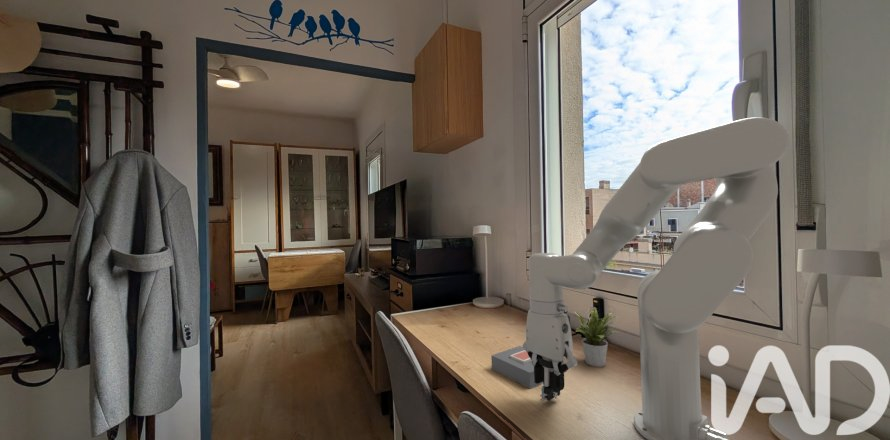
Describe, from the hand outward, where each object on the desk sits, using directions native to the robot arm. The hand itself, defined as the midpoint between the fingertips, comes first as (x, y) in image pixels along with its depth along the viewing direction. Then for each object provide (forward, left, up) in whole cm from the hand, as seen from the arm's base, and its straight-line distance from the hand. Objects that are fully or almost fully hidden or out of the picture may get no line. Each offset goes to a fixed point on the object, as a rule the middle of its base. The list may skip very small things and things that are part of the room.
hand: (549, 385), depth 73 cm
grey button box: (+14, -8, -4) cm, 17 cm away
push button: (0, 0, -3) cm, 3 cm away
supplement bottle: (+23, -38, -4) cm, 45 cm away
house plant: (+4, -29, -4) cm, 30 cm away
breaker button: (+14, -8, -3) cm, 17 cm away
